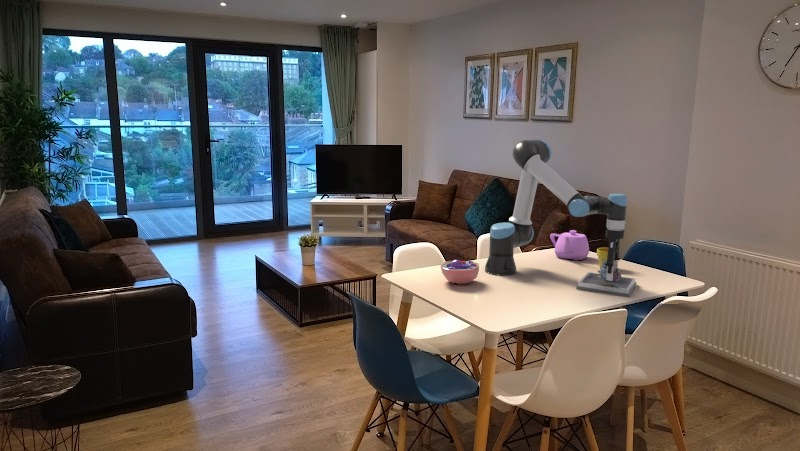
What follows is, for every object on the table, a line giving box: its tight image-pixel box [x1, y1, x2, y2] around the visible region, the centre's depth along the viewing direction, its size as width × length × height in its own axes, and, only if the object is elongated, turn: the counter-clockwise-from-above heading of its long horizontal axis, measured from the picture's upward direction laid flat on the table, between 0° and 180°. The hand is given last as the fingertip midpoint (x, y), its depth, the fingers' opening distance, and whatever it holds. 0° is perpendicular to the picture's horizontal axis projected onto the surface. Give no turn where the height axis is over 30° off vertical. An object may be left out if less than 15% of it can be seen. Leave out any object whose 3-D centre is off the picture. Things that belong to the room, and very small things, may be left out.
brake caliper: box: [597, 261, 623, 283], centre depth 252 cm, size 11×11×12 cm
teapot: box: [549, 229, 590, 261], centre depth 306 cm, size 23×21×15 cm
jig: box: [575, 271, 638, 298], centre depth 253 cm, size 22×22×3 cm
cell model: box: [439, 259, 480, 285], centre depth 256 cm, size 17×20×11 cm
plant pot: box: [596, 247, 610, 267], centre depth 286 cm, size 10×10×10 cm
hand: (611, 277), depth 252 cm, fingers closed on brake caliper, 11 cm apart
